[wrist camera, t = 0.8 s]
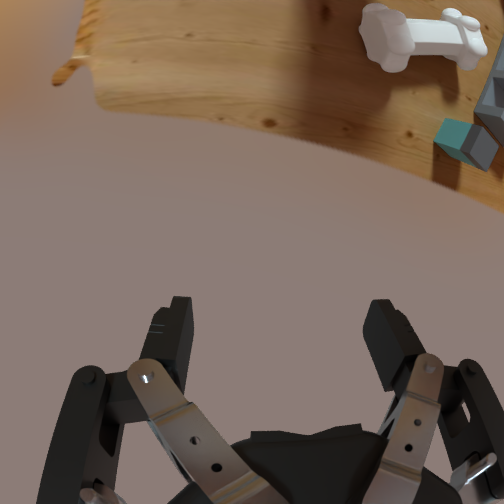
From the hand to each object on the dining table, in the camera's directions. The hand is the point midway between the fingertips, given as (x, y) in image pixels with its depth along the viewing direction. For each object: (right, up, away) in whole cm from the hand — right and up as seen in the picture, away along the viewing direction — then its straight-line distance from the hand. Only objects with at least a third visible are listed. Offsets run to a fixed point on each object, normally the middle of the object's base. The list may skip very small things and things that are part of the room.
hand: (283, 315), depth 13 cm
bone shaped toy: (+19, +29, +14) cm, 37 cm away
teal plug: (+26, +18, +20) cm, 37 cm away
